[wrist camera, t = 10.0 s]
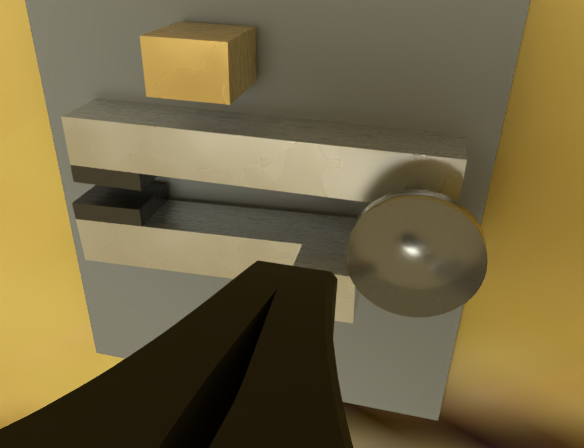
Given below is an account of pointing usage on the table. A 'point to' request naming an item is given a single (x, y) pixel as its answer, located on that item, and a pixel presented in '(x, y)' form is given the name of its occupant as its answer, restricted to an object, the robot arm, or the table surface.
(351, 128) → the base
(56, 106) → the mat
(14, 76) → the table surface
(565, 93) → the table surface
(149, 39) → the tab
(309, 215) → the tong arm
